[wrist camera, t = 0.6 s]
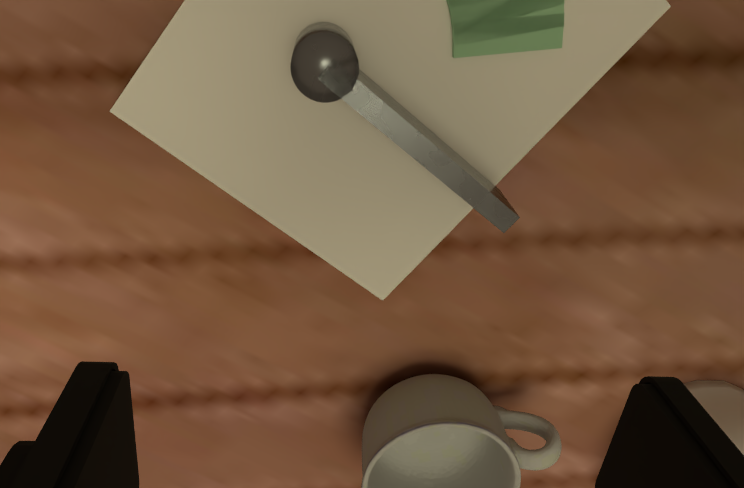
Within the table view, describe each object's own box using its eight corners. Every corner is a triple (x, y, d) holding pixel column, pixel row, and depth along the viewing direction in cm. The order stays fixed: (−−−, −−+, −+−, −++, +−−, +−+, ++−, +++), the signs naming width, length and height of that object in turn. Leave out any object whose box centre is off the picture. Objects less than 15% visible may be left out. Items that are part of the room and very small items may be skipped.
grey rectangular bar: (511, 177, 35) (533, 204, 32) (473, 215, 36) (490, 245, 33) (319, 7, 30) (319, 17, 27) (281, 57, 31) (276, 72, 28)
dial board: (657, 3, 34) (675, 7, 32) (380, 288, 41) (383, 303, 39) (396, -307, 27) (401, -323, 25) (117, 104, 34) (107, 113, 32)
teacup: (359, 464, 48) (366, 554, 41) (350, 358, 43) (357, 440, 36) (526, 447, 49) (562, 532, 42) (537, 341, 44) (579, 418, 37)
